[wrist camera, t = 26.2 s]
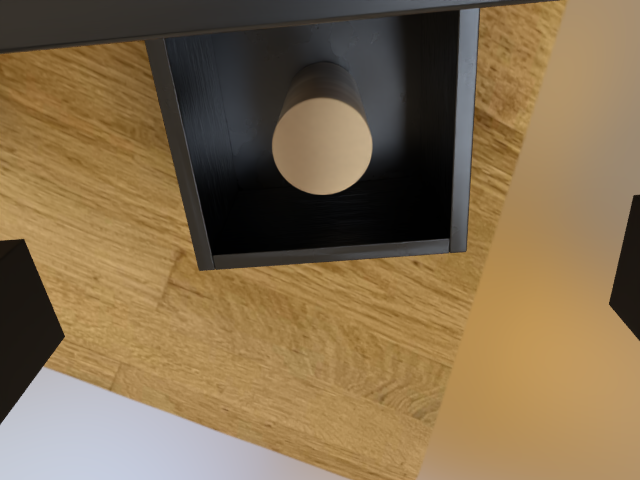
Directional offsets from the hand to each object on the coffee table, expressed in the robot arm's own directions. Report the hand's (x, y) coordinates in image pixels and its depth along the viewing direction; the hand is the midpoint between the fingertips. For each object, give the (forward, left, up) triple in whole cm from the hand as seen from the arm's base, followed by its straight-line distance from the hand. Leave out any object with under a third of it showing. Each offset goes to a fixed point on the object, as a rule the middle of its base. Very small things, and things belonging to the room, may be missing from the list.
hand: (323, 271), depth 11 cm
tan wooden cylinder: (0, 0, -19) cm, 19 cm away
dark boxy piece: (0, -1, -19) cm, 19 cm away
